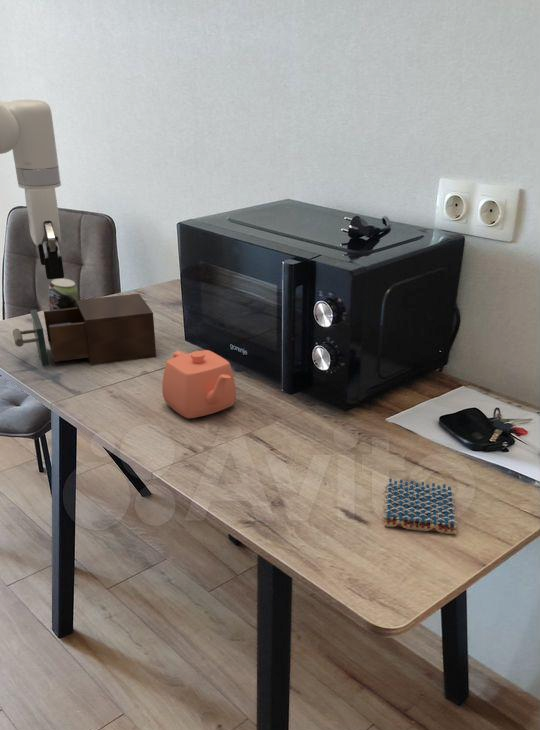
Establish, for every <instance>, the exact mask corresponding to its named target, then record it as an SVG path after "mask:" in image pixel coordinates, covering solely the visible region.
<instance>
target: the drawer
mask: <svg viewBox="0 0 540 730" xmlns="http://www.w3.org/2000/svg"><path fill="white" fill-rule="evenodd" d="M29 311H30V317H31V322H32V327H33V329H25V330H21V329H18V328H14V329H13V330H12V336H13V340H14V344H15V346H16V347H21V348H22V347H23V346H24V344H31V343H35V344H36V349H37V353H38V355H39V358H40V362H41V365H42V367H47V366H48V367H49V366H50V364H49V357H48V352H47V346H46V339H45V334H44V333H45V332H44V328H43V324H42V322H41V318H40V317H39V314H38V310H37V309H30V310H29ZM43 316H44V317H43V318H44V323H45V329H46V336H47V341H48V345H49V349H50V351H51V355H52V357H53V360H54V362H63V361H72V360H78V359H79V360H80V359H88V357H89V349H88V341H87V334H86V326H85V321H84V319H83V317H82V315H81V313H80V311H79V309H78V307H75V308H65V309H56V310H49V309H48V310H43ZM61 323H71V324H63V325H54V326H49V325H53V324H61ZM29 334H34V337H33V338H26V339H24V338H23V335H29Z"/></svg>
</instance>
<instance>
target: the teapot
mask: <svg viewBox="0 0 540 730" xmlns="http://www.w3.org/2000/svg"><path fill="white" fill-rule="evenodd" d="M161 387H162V389H161V390H162V392H161V393H162V397H163V399H164V401H165V403H166V405H167V406H168V407H170V408H171V409H172V410H174V411H175V412H176V413H177V414H179V415H181V416H182V417H184V418H186V419H196V418H199V417H204V416H208V415H212V414H215V413H218V412H220V411H223V410H226V409H229V408H230V407H232V406H233V405H234V404H235V401H236V398H237V387H236V381H235V376H234V372H233V368H232V366H231V362H229V361H228V360H227V359H225V358H224V357H222V356H221V355H219V354H217V353H215V352H214V351H212V350H209V349H203V350H196V351H192V352H189V353H184V352H183V351H181V350H176V351H174V352H173V353H172V358H170V359H168V360H166V361H165V366H164V370H163V375H162V386H161Z"/></svg>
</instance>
